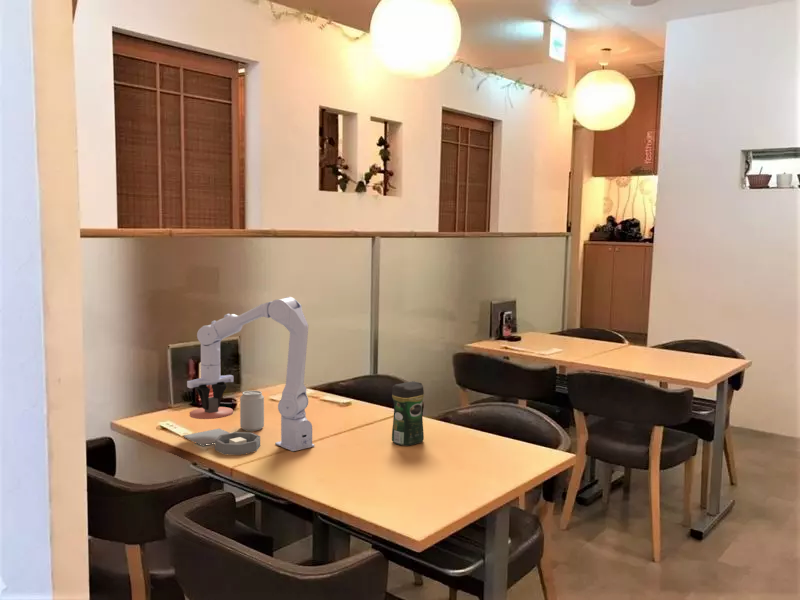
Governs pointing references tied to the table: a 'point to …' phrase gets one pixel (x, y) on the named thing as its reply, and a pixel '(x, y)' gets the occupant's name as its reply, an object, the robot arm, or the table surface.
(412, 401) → the coffee jar
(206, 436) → the mat
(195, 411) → the lid
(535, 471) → the table surface
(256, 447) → the bowl
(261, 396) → the can
